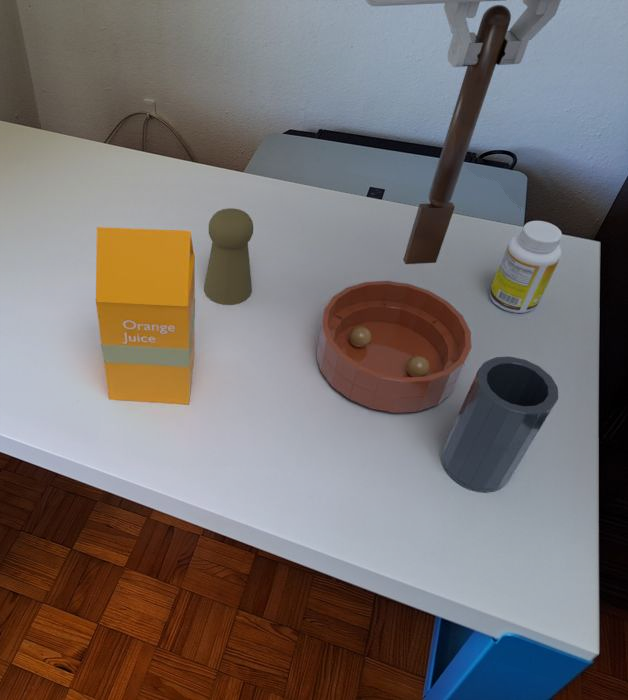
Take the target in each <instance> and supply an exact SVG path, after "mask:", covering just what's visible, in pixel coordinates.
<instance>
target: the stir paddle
mask: <svg viewBox="0 0 628 700" xmlns="http://www.w3.org/2000/svg"><path fill="white" fill-rule="evenodd" d="M511 19H512V15H511V11H510V10H509V8H508V7H506V5H503V4H495V5H492V6H490V7H489V8H488V9H486V10H485V11H484V13H483V15H482V16H481V20H480V23H479V26H478V29H477V33H476V35H477V38H479V39H480V40H481V41H482V42H483V45H482V48H481V52H480V53H479V54H478V55H477V57H478V61H477V64H476V65H475V66H466V70H465V73H464V76H463V80H462V83H461V85H460V86H461V87H460V90H459V93H458V96H457V100H456V102H455V106H454V110H453V112H452V116H451V120H450V123H449V126H448V130H447V132H446V136H445V139H444V143H443V146H442V150H441V153H440V156H439V159H438V163H437V167H436V169H435V172H434V176H433V179H432V182H431V186H430V189H429V192H428V201H429V202H428V203H419V205H418V208H417V211H416V215H415V218H414V221H413V225H412V229H411V232H410V235H409V238H408V242H407V245H406V249H405V252H404V255H403V258H402V259H403V263H404V264H405V265H419V264H436V263H437V261H438V258H439V256H440V253H441V249H442V246H443V244H444V240H445V237H446V234H447V231H448V228H449V226H450V222H451V219H452V217H453V214H454V210H455V205H454V202H451V201H452V198H453V196H454V192H455V189H456V186H457V183H458V180H459V177H460V174H461V171H462V168H463V165H464V162H465V159H466V156H467V153H468V150H469V148H470V147H469V146H470V144H471V141H472V137H473V136H474V131H475V130H476V129H475V128H476V126H477V122H478V120H479V116H480V114H481V110H482V108H483V105H484V102H485V99H486V96H487V93H488V89H489V86H490V83H491V81H492V78H493V75H494V71H495V68H496V65H497V64H496V63H497V60H498V57H499V54H500V51H501V48H502V45H503V42H504V39H505V36H506V33H507V31H509V30H508V29H509V26H510V23H511Z"/></svg>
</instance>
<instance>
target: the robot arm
mask: <svg viewBox="0 0 628 700" xmlns="http://www.w3.org/2000/svg"><path fill="white" fill-rule="evenodd" d="M364 1H365V2H366V3H367V5H369V6H371V7H390V6H412V5H414V6H415V5H437V4H438V5H439V4H444V5H443V9H444V12H445V16H446V19H447V22H448V26H449V29H450V32H451V35H452V37H451V41H450V44H449V48H448V51H447V62H448V63H449V64H450V65H451V66H452V68H464V67H467V66H475V65H476V64H477V61H478V57H477V55H478V54H479V53H480V52H481V48H482V45H483V42H482V41H481V40H480V39H479V38H477V33H475V32H470V30H469V25H468V21H467V19H473V18H475V17H476V16H477V12H478V10H479V6H480V3H482V2H483V3H484V2H502V1H504V2H505V1H506V0H364ZM561 1H562V0H522V3H523V4H524V5H525V6H526V9H525V10H524V11H523V13H521V14H520V15H519V17H518V19H517V20H516V21H515V22H514V23H513V24H512V25H511V27H510V28H509V30H507V33H506V36H505V39H504V42H503V45H502V48H501V51H500V54H499V57H498V60H497V63H496V65H497V66H506V65H519V64H521V62H522V61H523V59H524V55H525V53H526V50H527V46H528V44H529V42H530V41H532V39H534V37H536V36H537V35H538V34H539V32H540V31H542V29H543V28H544V27H545V26H546V25H547V24H548V23H549V22H550V21H551V20H552V19H553V18H554V17H555V16H556V14H557V11H558V9H559V7H560V4H561Z"/></svg>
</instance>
